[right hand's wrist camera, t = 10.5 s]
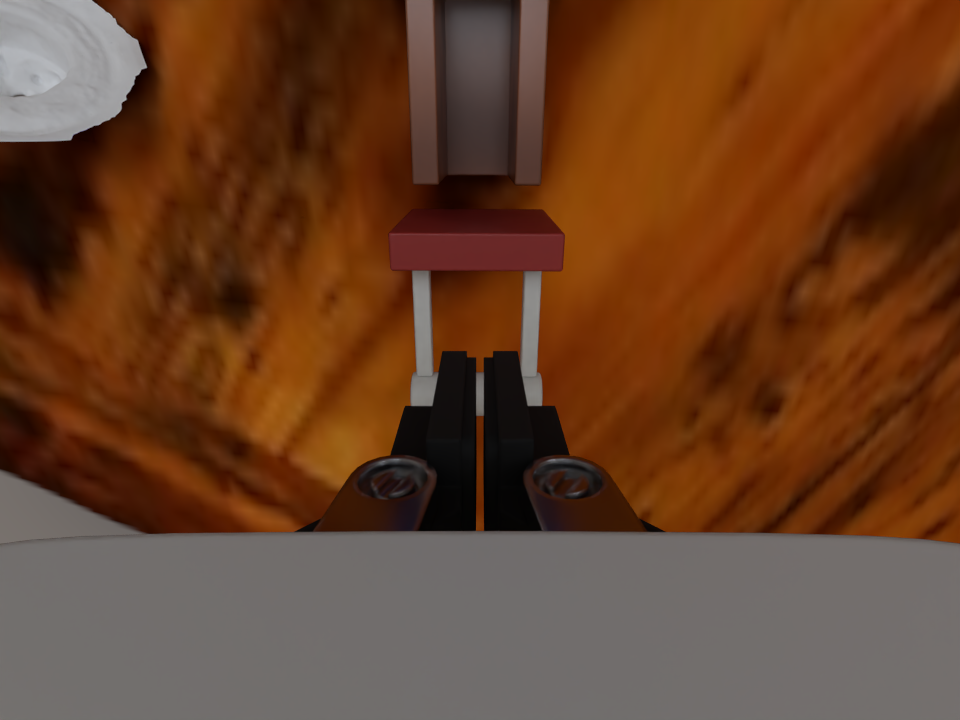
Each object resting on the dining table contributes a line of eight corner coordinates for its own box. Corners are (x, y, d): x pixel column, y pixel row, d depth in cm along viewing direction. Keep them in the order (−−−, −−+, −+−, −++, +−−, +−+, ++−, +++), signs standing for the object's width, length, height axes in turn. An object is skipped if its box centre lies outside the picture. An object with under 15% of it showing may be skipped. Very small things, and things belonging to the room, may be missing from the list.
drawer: (535, 368, 25) (552, 437, 19) (418, 368, 25) (400, 436, 19) (568, -305, 16) (615, -544, 11) (389, -306, 16) (340, -545, 11)
